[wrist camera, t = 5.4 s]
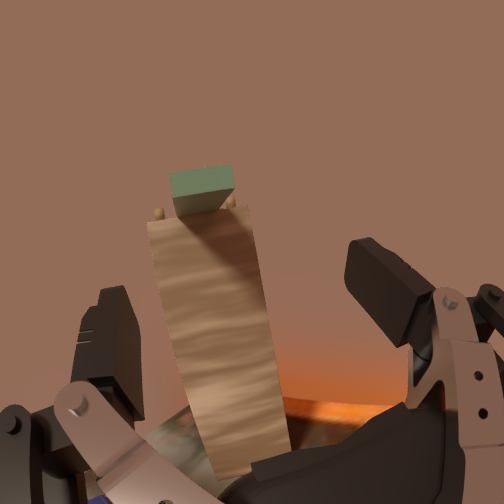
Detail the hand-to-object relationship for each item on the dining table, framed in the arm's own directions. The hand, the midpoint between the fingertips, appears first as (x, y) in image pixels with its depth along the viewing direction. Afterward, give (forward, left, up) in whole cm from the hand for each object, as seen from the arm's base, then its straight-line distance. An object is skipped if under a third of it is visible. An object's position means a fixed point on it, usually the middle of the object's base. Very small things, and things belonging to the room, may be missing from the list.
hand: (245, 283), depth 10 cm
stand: (-4, +25, -27) cm, 37 cm away
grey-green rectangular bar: (-3, +19, +5) cm, 20 cm away
